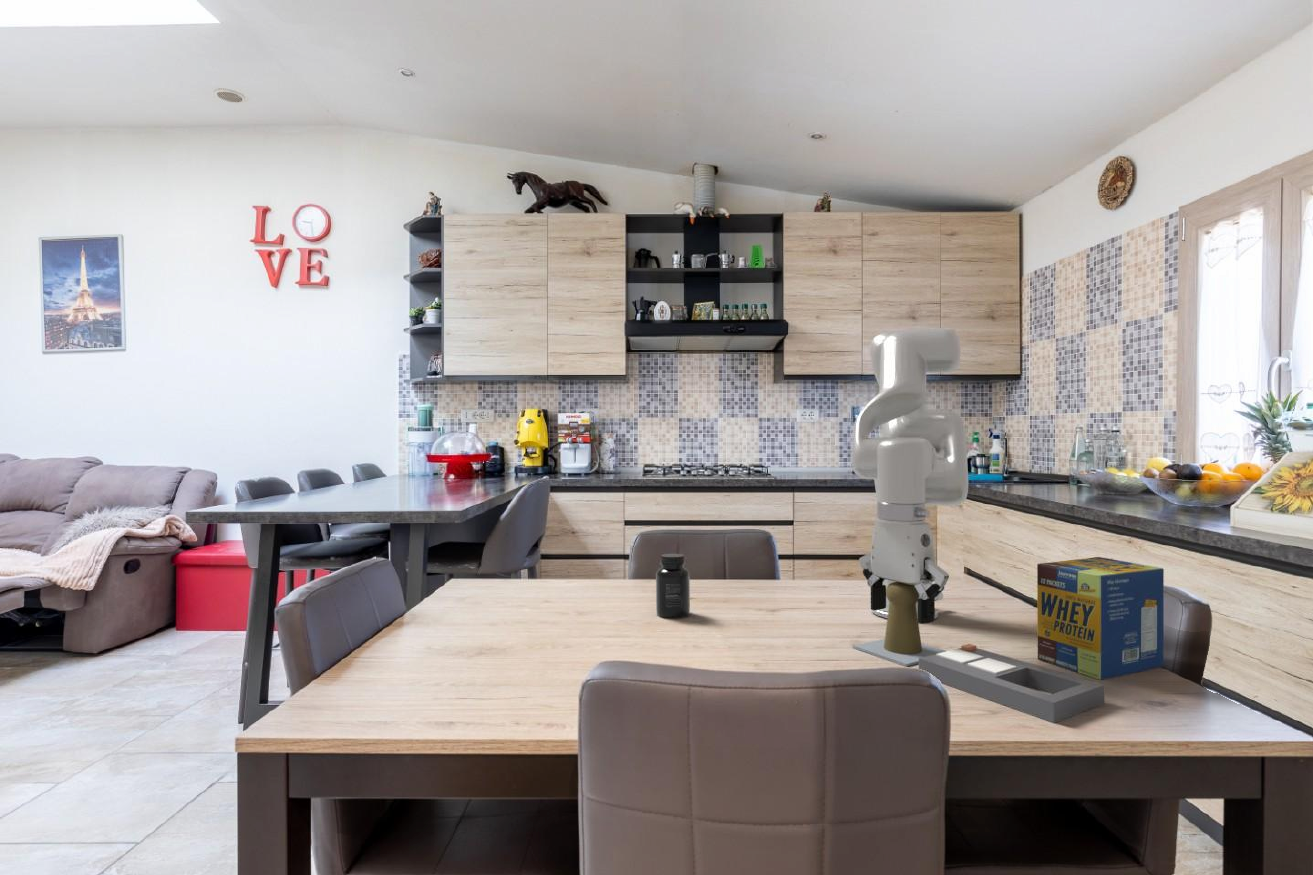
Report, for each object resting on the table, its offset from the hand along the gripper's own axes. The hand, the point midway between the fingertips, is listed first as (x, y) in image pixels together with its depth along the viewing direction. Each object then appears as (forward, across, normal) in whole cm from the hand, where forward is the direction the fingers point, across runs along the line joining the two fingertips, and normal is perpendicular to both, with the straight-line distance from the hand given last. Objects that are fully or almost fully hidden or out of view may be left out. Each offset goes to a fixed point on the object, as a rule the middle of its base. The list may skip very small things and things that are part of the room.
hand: (901, 615), depth 113 cm
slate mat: (+6, 0, 0) cm, 6 cm away
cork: (+6, 0, 0) cm, 6 cm away
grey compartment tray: (+6, -19, +1) cm, 20 cm away
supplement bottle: (+6, +40, +20) cm, 45 cm away
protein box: (+6, -20, -22) cm, 30 cm away
